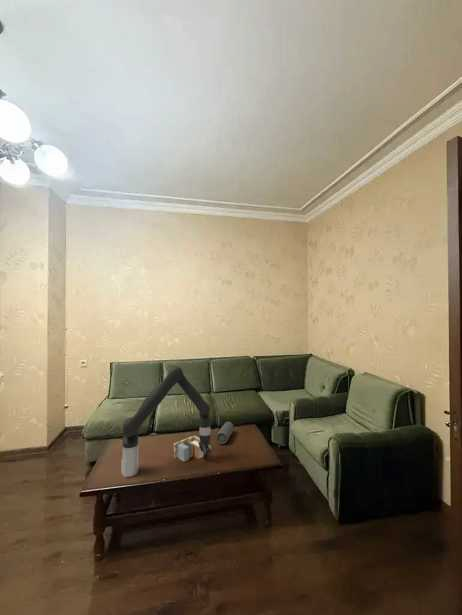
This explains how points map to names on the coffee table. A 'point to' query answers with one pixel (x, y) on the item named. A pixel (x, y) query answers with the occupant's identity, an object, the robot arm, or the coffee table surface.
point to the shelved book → (183, 452)
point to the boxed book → (197, 450)
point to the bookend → (190, 448)
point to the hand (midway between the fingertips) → (205, 458)
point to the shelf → (190, 439)
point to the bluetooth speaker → (225, 432)
